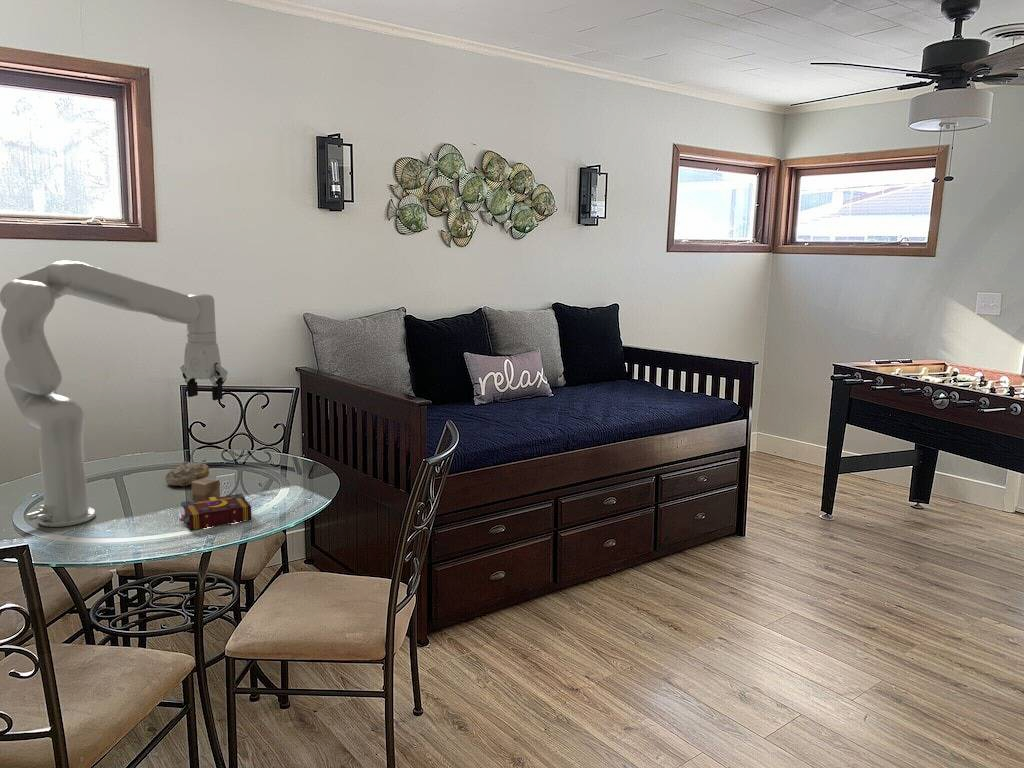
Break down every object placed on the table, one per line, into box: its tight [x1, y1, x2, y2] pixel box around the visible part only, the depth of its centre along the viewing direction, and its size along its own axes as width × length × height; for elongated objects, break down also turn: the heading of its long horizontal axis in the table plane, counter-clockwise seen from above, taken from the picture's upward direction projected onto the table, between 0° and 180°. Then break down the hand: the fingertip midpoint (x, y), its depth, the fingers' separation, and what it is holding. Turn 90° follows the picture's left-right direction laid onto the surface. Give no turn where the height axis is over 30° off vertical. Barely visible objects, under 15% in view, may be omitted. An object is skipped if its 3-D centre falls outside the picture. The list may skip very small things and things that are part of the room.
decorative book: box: [179, 493, 252, 531], centre depth 200 cm, size 11×16×5 cm
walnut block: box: [190, 477, 221, 501], centre depth 213 cm, size 5×5×6 cm
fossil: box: [164, 460, 210, 487], centre depth 231 cm, size 12×8×10 cm
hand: (205, 397), depth 225 cm, fingers open, 9 cm apart
